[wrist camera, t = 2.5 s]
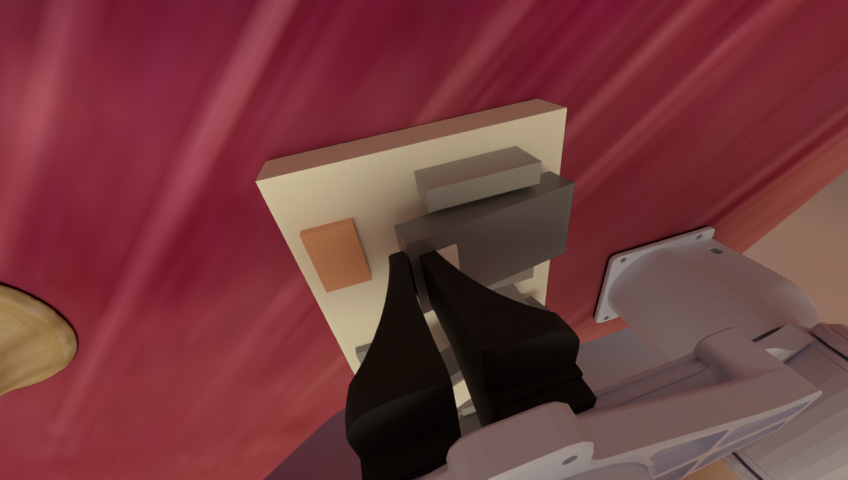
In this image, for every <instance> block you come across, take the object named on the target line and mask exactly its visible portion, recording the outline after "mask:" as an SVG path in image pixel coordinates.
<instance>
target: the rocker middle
mask: <svg viewBox="0 0 848 480" xmlns="http://www.w3.org/2000/svg"><path fill="white" fill-rule="evenodd" d="M525 300H526V302H527V303H528V304H529V306H532V307H536V308H539V309H543V310H547V311H550V310H549V309H547V308H546V307H545V306H544V305H542V304H541V303H540V302H538V301H537V300H536V299H534V298H533V297H532V296H529V297H528V298H526V299H525ZM440 354H441V356H442V358H443V361H444V363H445V365H446V367H447V370H448V373H449V375H450V378H451V381H452V385H453V390H454V396H455V401H456V406H457V411H459V410H460V409H462V408H463V407H465V406H466V405H467V404H469V403H470V402H472V399H471V397H470V394H469V391H468V388H467V386H466V383H465V380H464V378H463V375H462V372H461V370H460V367H459V364H458V362H457V359H456V357H455V354H454V351H453V349H452V347H451V346H449V347H448V348H446V349H444V350H443V351H441V352H440Z"/></svg>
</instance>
